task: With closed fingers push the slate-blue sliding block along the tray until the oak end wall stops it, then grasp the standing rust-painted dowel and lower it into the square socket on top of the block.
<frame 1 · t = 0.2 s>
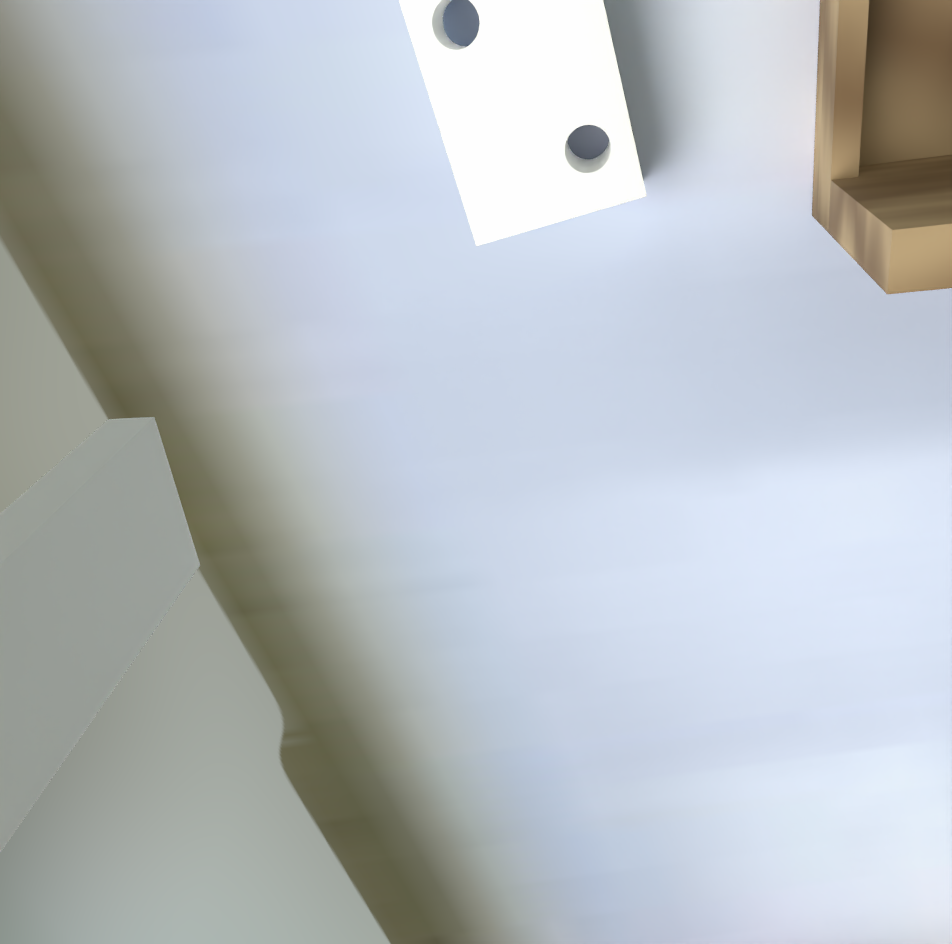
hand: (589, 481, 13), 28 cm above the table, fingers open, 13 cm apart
bracket: (521, 45, 35), on the table
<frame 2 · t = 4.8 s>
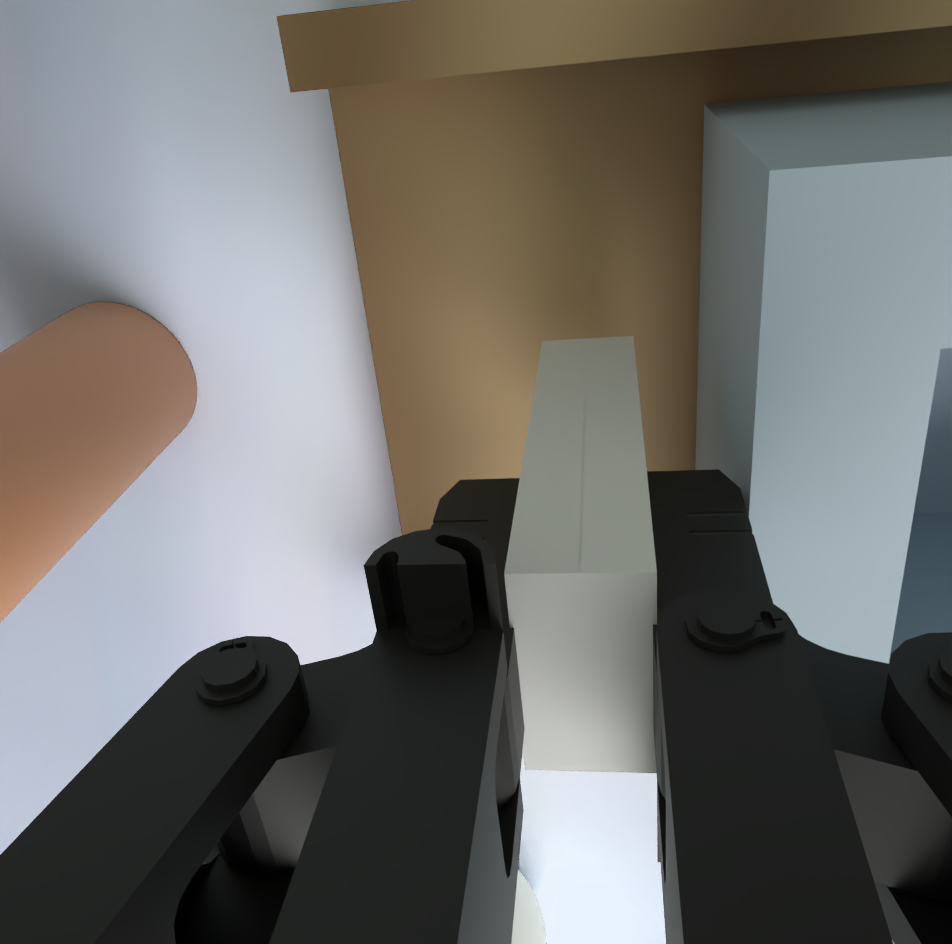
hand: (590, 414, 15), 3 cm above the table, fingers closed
figurine: (438, 881, 26), on the table
dowel: (121, 377, 19), on the table
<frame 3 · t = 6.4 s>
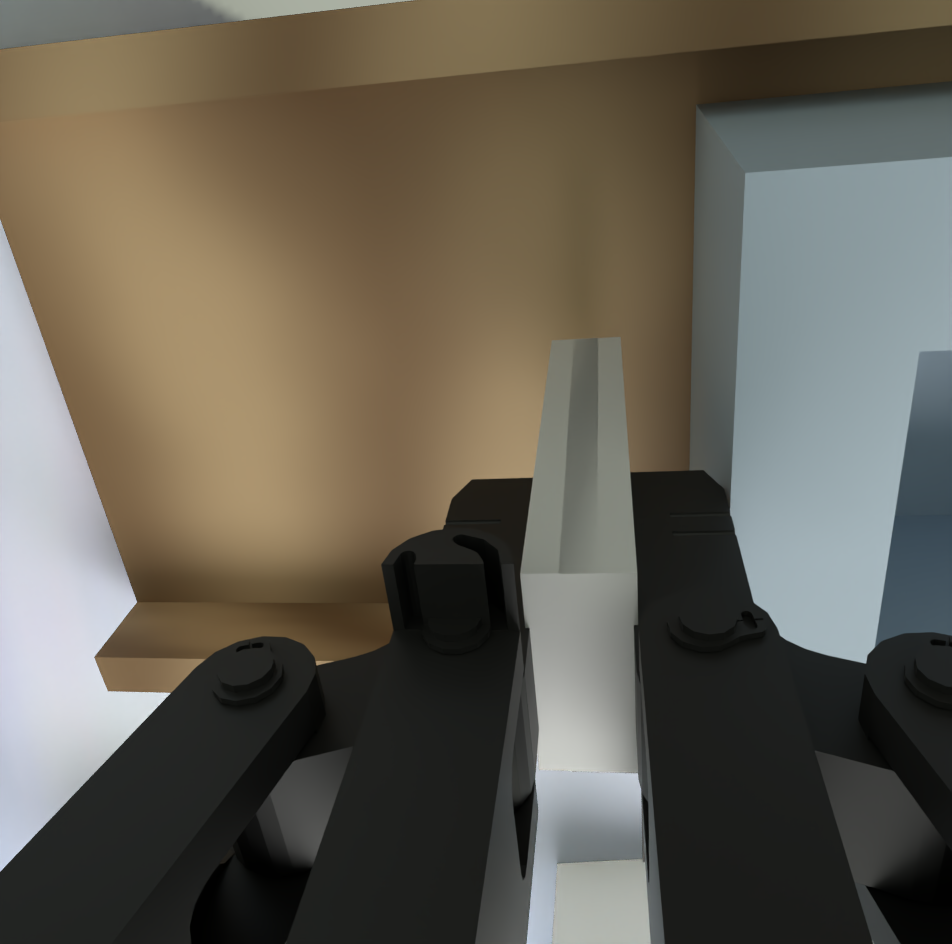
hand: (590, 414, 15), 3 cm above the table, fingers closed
tray: (686, 349, 17), on the table
bracket: (800, 916, 25), on the table
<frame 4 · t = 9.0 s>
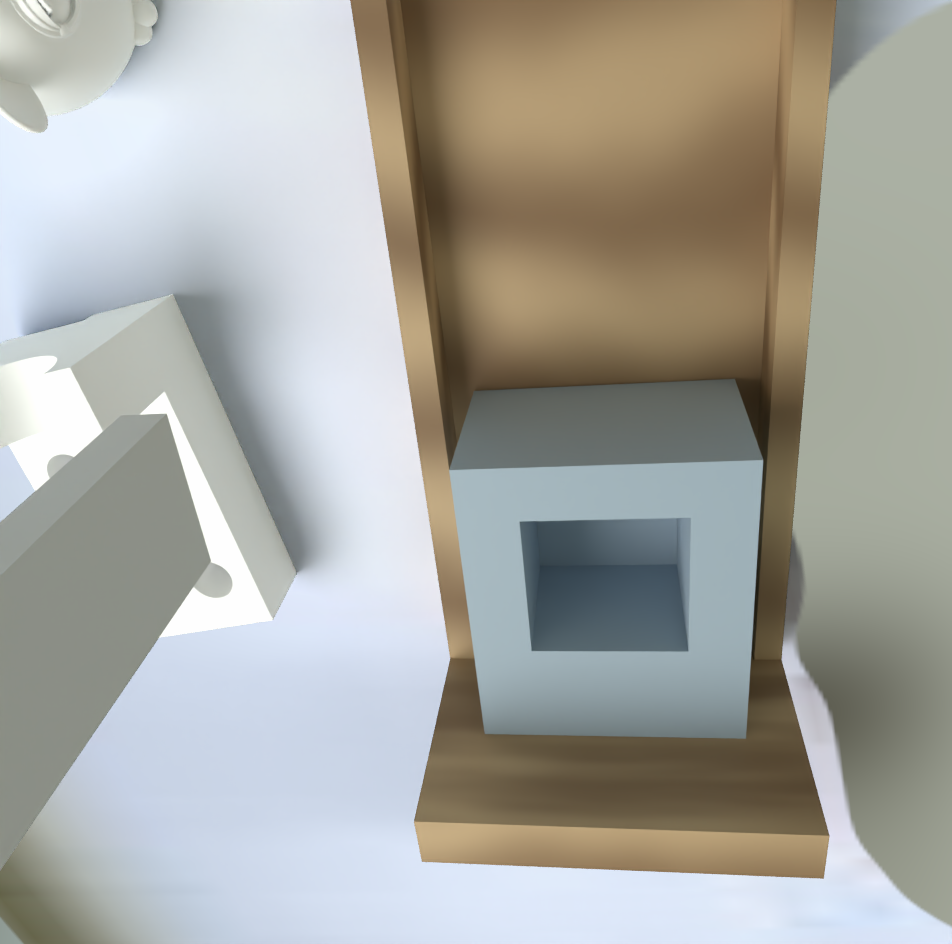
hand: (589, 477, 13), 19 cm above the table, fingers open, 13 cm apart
tray: (601, 373, 32), on the table
block: (606, 560, 31), point 4 cm above the table, slide at 7.0 cm
bracket: (169, 455, 36), on the table
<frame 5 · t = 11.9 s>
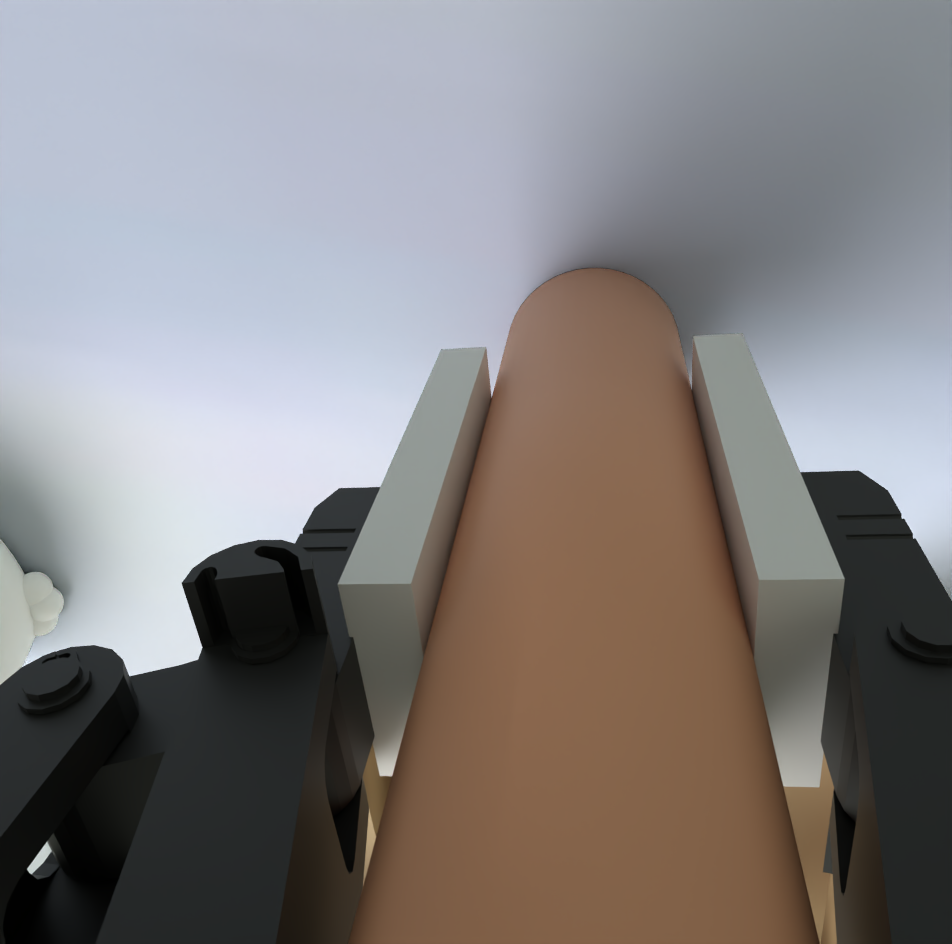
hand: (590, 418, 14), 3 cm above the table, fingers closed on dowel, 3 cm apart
dowel: (592, 352, 17), on the table, touching gripper
tray: (616, 942, 26), on the table
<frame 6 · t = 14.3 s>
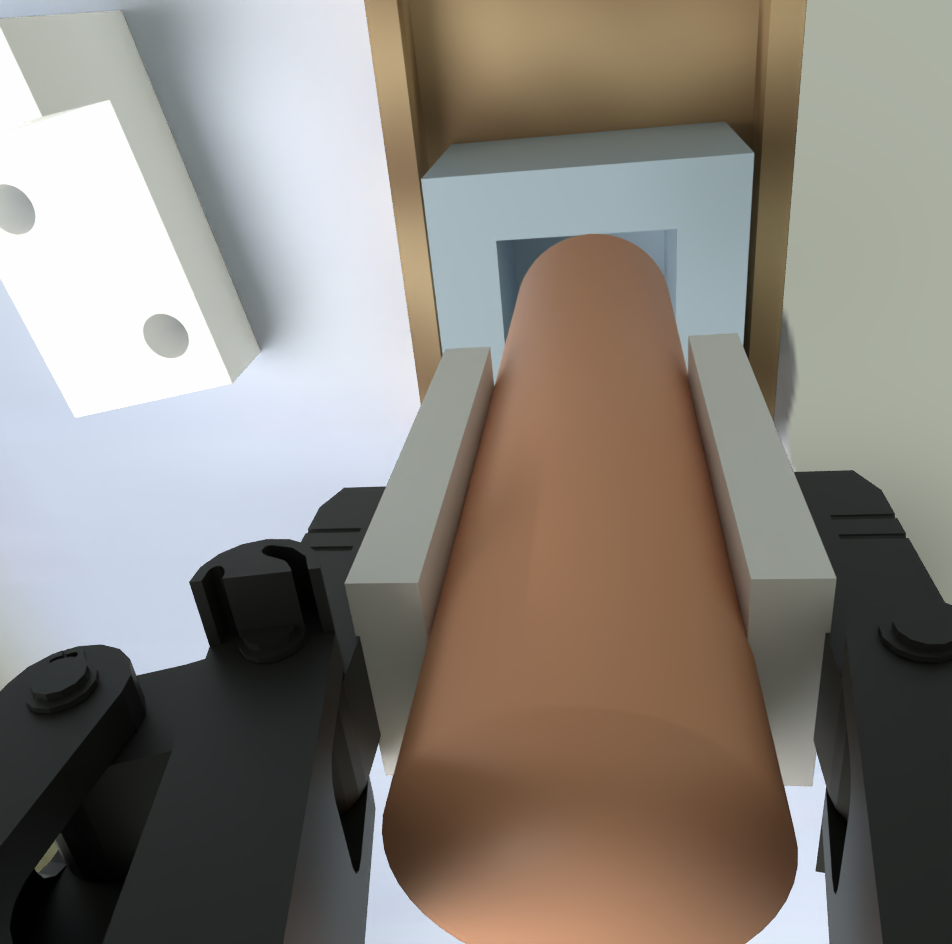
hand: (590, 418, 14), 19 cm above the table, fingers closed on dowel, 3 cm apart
dowel: (592, 310, 19), point 14 cm above the table, touching gripper
tray: (585, 128, 30), on the table
block: (589, 318, 29), point 4 cm above the table, slide at 7.0 cm
bracket: (123, 215, 34), on the table
when the fingers open (9 cm above the table, at t = 16.7 s): dowel drops 1 cm, resting on block.
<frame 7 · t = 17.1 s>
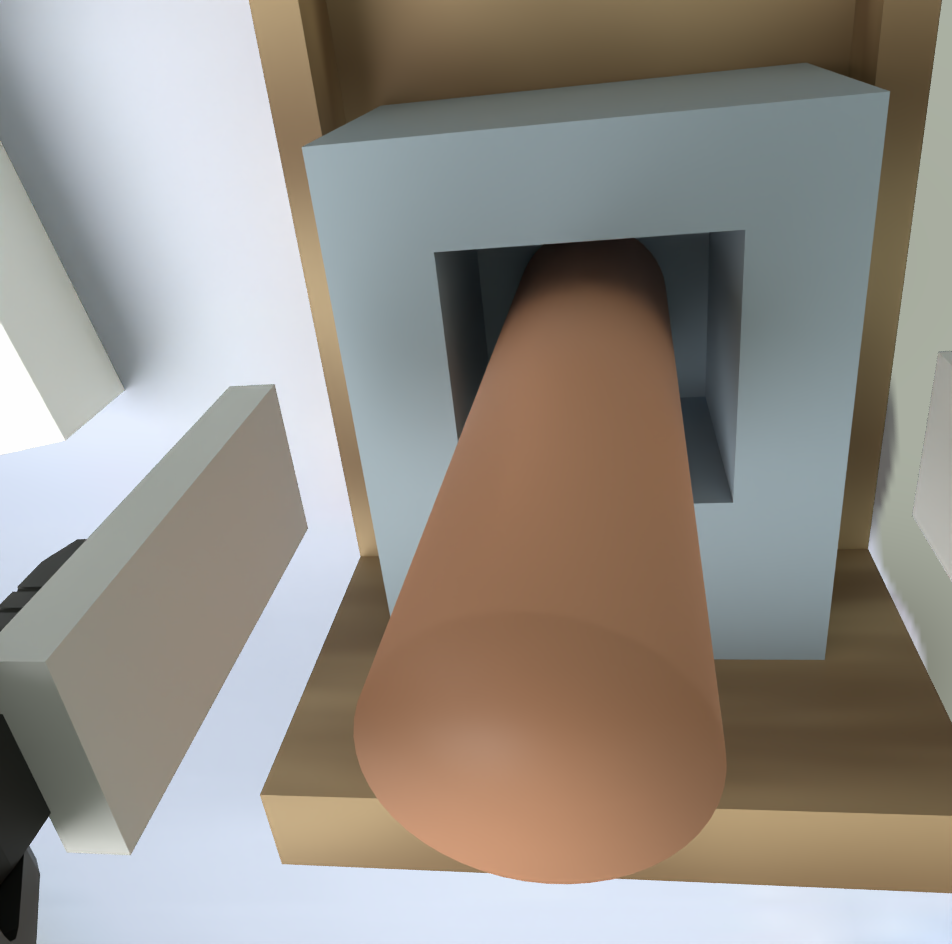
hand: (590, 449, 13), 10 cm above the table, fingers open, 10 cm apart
dowel: (591, 299, 20), point 2 cm above the table, touching block
tray: (586, 80, 20), on the table
block: (594, 372, 19), point 4 cm above the table, slide at 7.0 cm, touching dowel
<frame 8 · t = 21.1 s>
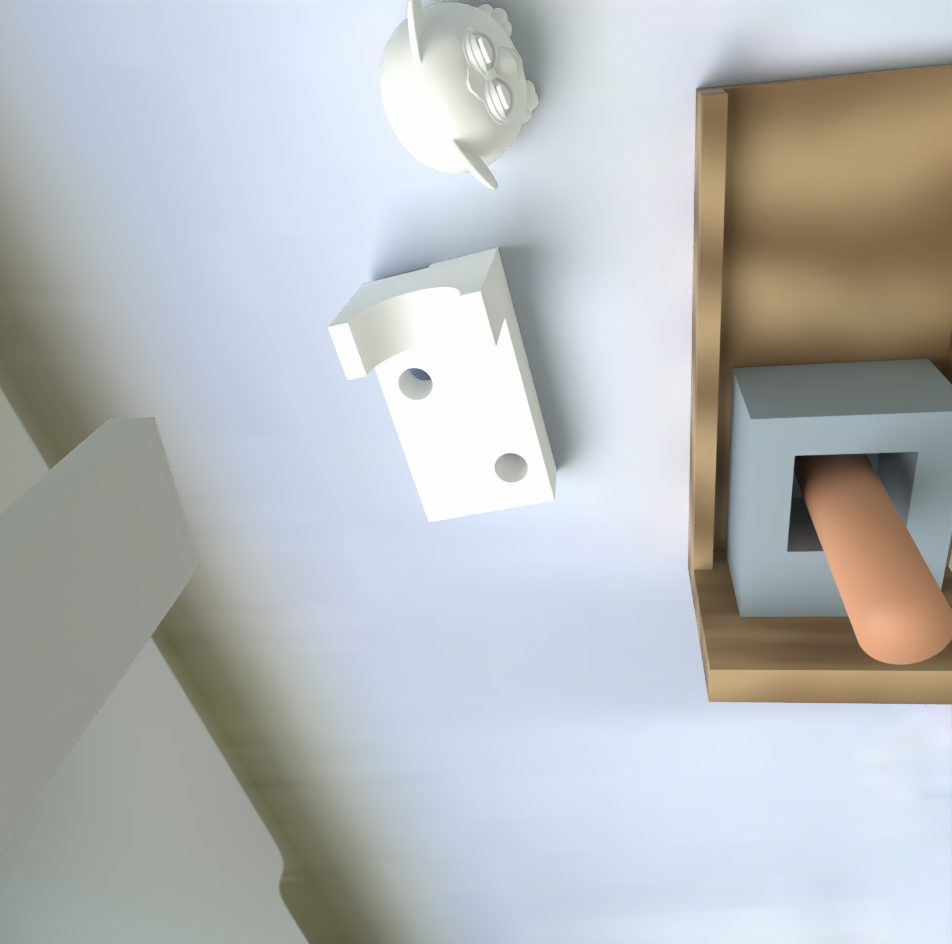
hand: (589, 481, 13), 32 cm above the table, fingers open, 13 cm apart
figurine: (462, 85, 40), on the table
dowel: (824, 453, 44), point 2 cm above the table, touching block
tray: (823, 355, 44), on the table
block: (832, 489, 43), point 4 cm above the table, slide at 7.0 cm, touching dowel
bracket: (466, 376, 47), on the table
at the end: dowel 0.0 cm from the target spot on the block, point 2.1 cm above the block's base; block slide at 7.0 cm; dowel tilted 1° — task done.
